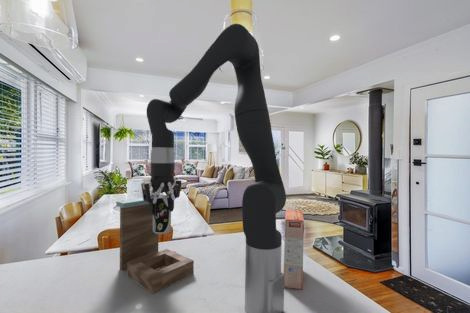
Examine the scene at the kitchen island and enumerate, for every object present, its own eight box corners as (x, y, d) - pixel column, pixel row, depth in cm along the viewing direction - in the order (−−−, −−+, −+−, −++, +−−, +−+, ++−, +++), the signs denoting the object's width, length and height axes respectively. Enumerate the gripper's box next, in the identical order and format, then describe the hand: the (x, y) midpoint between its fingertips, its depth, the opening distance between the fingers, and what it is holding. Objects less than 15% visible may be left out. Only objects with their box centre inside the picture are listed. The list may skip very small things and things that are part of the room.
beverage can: (151, 235, 76) (151, 197, 76) (153, 230, 82) (154, 194, 82) (170, 234, 77) (170, 197, 77) (171, 229, 83) (171, 194, 83)
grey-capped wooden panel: (164, 258, 92) (165, 197, 91) (122, 274, 79) (123, 203, 79) (157, 255, 95) (157, 195, 95) (115, 270, 82) (116, 201, 82)
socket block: (193, 273, 80) (193, 260, 80) (153, 293, 69) (153, 278, 69) (166, 260, 90) (166, 248, 90) (127, 276, 78) (127, 262, 78)
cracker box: (303, 290, 71) (304, 220, 71) (282, 288, 73) (284, 218, 73) (301, 269, 85) (302, 209, 85) (284, 266, 86) (285, 208, 86)
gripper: (149, 162, 71) (148, 219, 71) (187, 161, 82) (186, 210, 83) (136, 161, 76) (135, 214, 76) (174, 160, 87) (173, 207, 87)
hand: (162, 212), depth 79 cm, fingers closed on beverage can, 5 cm apart
